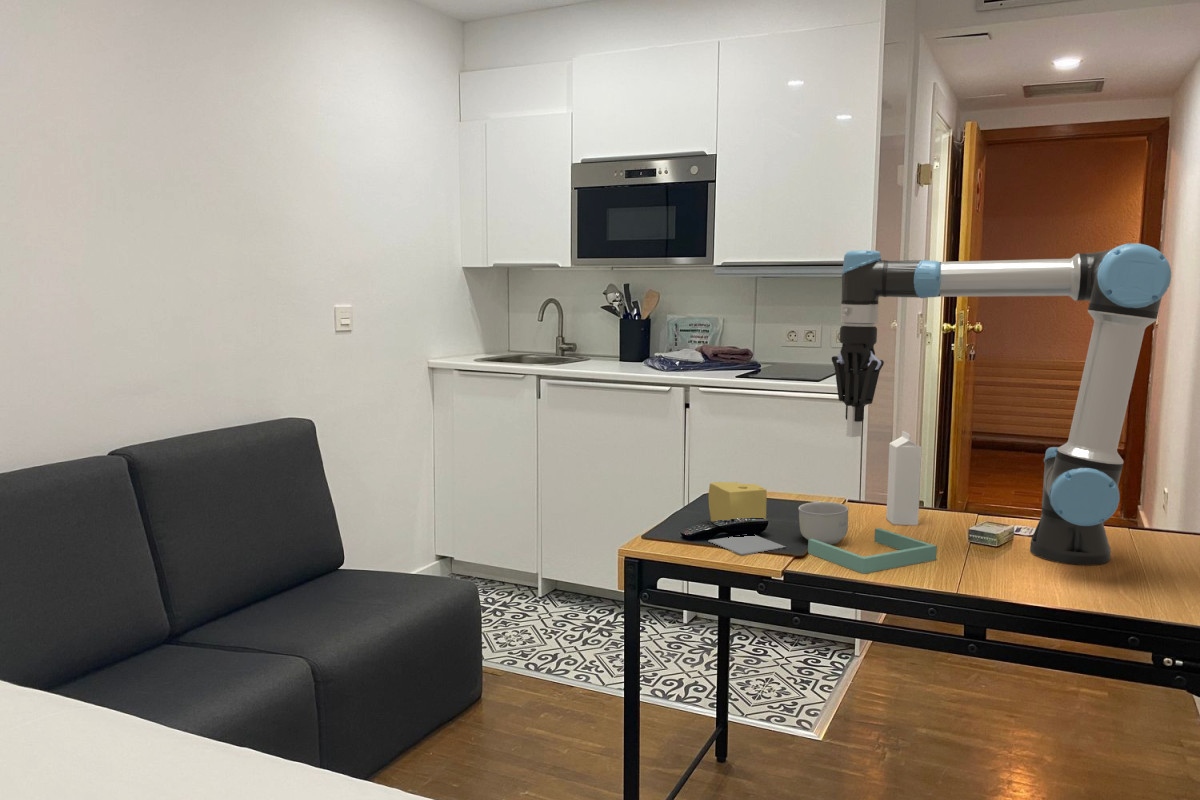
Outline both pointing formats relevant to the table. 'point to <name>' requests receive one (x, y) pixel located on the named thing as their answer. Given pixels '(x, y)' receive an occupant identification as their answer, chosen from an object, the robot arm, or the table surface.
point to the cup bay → (906, 554)
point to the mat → (746, 544)
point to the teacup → (823, 521)
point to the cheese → (736, 501)
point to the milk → (903, 481)
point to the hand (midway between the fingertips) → (853, 436)
